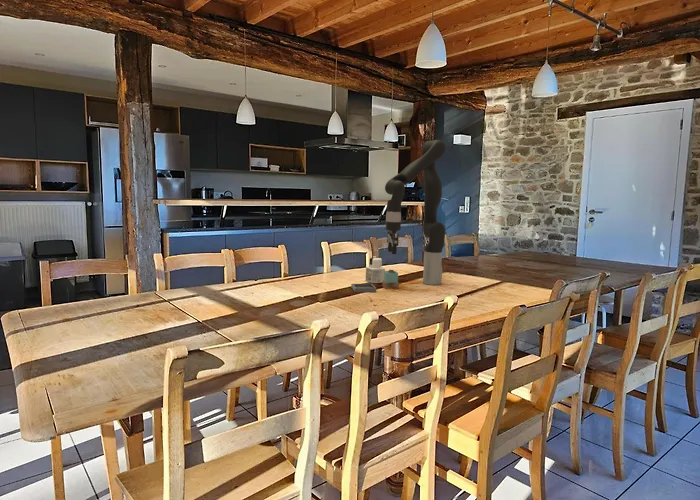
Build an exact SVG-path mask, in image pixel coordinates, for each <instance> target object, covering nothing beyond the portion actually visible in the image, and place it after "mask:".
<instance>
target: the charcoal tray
mask: <svg viewBox="0 0 700 500" xmlns="http://www.w3.org/2000/svg"><path fill="white" fill-rule="evenodd" d="M350 286H351V289H352V292H354V293H377V287H376V286H375V285H374V283H350Z"/></svg>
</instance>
